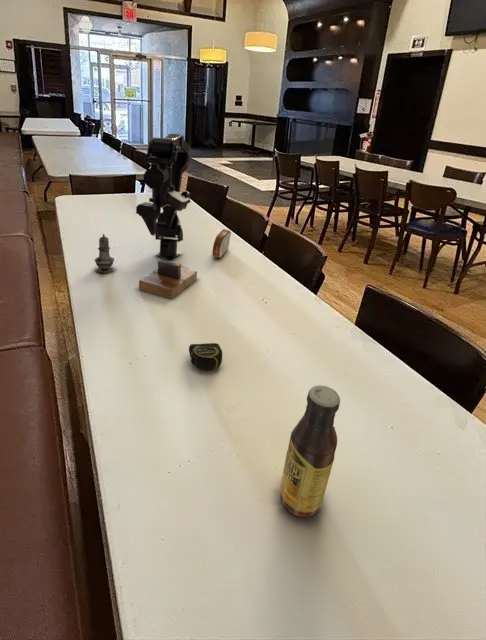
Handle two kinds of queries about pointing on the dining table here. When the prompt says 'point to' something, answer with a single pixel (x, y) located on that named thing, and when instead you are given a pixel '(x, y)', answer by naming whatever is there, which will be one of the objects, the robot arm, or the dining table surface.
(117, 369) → the dining table surface
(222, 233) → the brown white rounded block
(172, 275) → the dark grey block
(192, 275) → the wooden block
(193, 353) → the tape measure
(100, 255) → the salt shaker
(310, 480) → the sauce bottle
